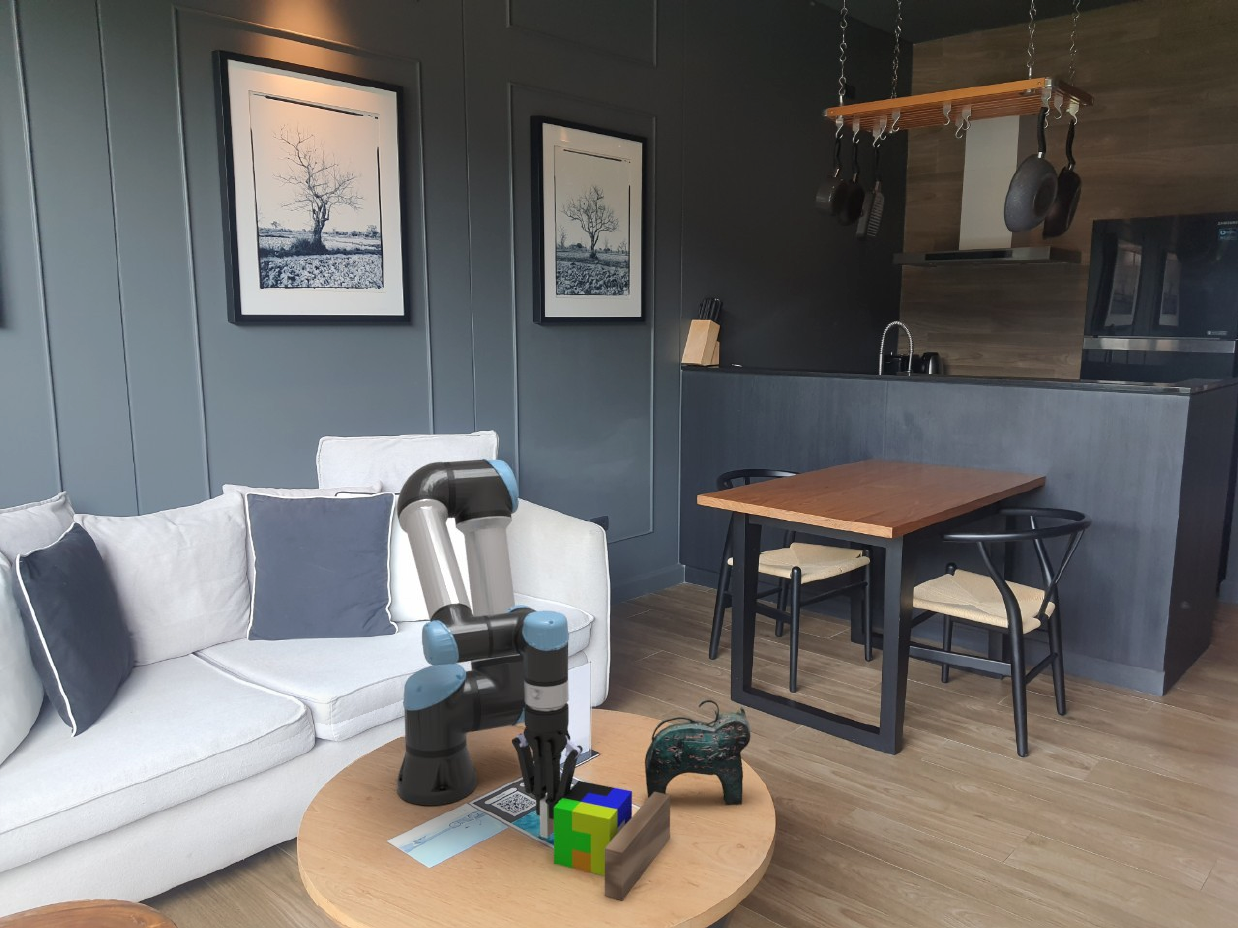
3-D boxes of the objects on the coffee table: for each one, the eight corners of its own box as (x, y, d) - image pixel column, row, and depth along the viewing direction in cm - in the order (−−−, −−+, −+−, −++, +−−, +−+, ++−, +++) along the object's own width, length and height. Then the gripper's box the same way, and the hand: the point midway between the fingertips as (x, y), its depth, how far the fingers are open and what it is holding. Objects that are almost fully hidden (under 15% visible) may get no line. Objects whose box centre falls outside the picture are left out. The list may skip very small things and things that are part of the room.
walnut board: (604, 895, 145) (604, 848, 143) (654, 834, 163) (654, 791, 161) (622, 900, 143) (622, 852, 142) (669, 837, 161) (670, 794, 160)
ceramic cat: (746, 793, 177) (749, 693, 175) (752, 810, 171) (755, 707, 168) (643, 794, 177) (644, 694, 174) (646, 811, 170) (646, 708, 168)
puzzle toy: (631, 845, 159) (632, 791, 158) (609, 876, 150) (609, 819, 148) (578, 833, 163) (578, 780, 161) (554, 863, 153) (553, 807, 152)
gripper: (502, 704, 156) (504, 835, 159) (569, 717, 150) (570, 853, 153) (525, 689, 163) (526, 815, 166) (590, 701, 157) (590, 831, 160)
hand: (547, 833), depth 160 cm, fingers closed
